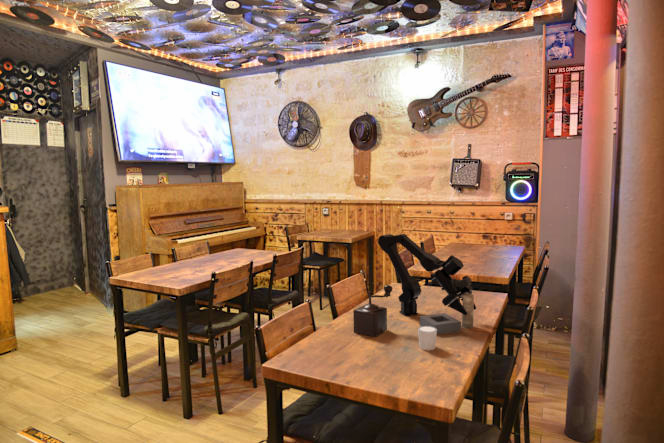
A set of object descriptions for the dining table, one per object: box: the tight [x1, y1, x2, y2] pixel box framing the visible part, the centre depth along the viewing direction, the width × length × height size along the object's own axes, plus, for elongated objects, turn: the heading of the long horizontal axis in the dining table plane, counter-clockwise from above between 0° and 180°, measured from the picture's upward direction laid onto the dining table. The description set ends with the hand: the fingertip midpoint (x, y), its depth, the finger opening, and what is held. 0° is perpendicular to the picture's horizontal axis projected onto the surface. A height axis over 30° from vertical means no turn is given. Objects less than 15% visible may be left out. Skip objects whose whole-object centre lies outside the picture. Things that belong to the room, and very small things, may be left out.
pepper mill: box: [352, 284, 393, 338], centre depth 174 cm, size 16×11×18 cm
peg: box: [461, 293, 475, 329], centre depth 175 cm, size 4×4×14 cm
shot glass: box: [417, 326, 437, 351], centre depth 154 cm, size 7×7×7 cm
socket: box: [419, 312, 462, 336], centre depth 174 cm, size 12×12×4 cm
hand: (471, 311), depth 174 cm, fingers open, 9 cm apart
